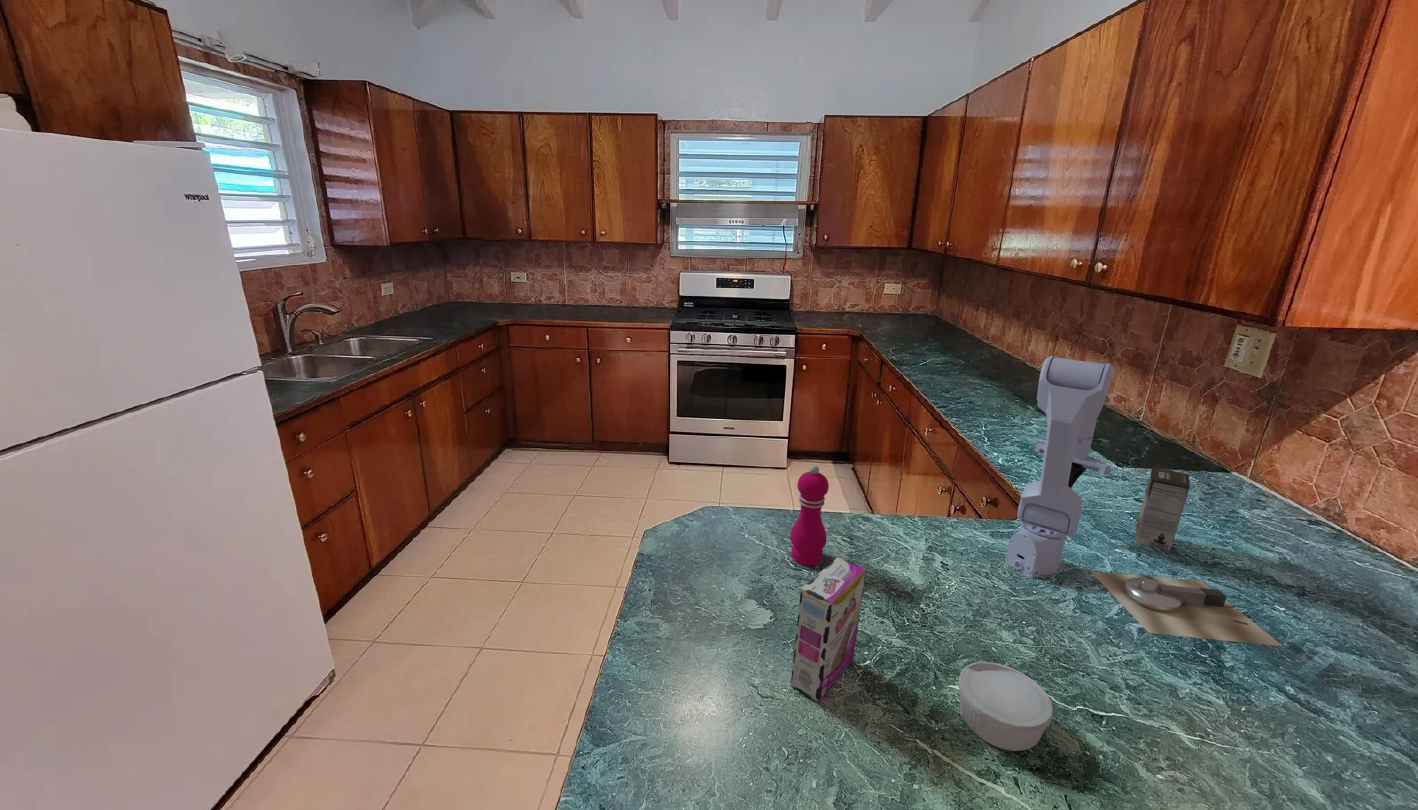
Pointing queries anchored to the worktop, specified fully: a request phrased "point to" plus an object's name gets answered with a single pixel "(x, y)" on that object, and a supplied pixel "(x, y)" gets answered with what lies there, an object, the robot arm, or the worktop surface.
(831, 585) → the candy bar box
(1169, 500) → the coffee box
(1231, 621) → the dial board
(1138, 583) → the dial
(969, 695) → the ramekin
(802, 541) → the pepper mill
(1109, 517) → the worktop surface
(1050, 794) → the worktop surface
